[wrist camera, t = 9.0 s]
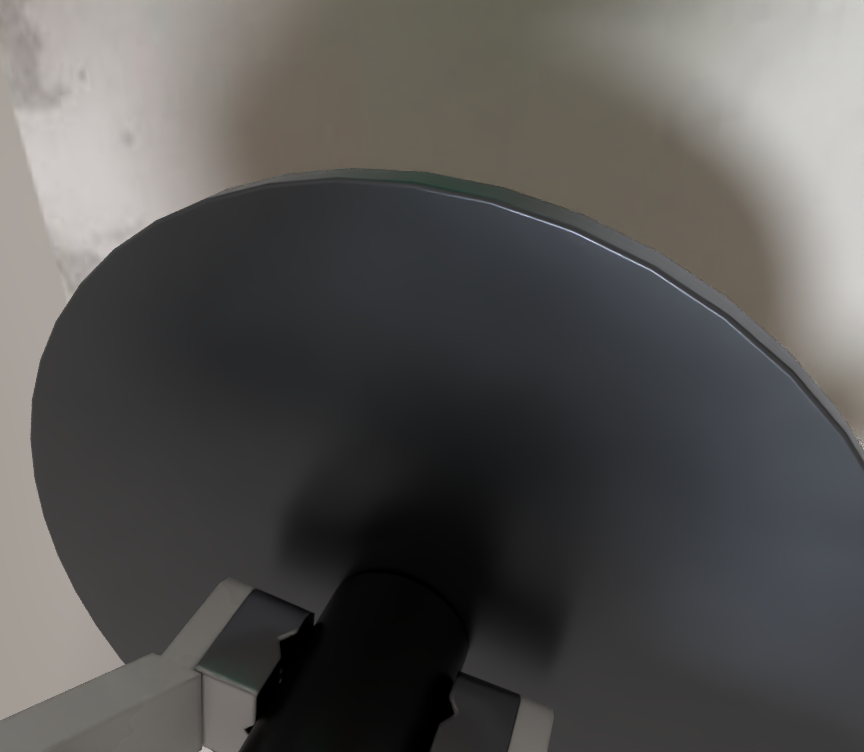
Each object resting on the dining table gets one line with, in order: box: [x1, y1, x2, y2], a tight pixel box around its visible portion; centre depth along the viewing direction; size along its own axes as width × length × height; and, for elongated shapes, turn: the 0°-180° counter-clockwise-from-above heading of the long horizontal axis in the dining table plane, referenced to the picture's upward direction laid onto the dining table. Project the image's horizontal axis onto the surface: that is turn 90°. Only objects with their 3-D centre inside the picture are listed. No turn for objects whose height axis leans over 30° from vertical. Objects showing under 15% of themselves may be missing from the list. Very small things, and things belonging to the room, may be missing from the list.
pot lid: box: [31, 168, 864, 752], centre depth 11 cm, size 15×15×5 cm
